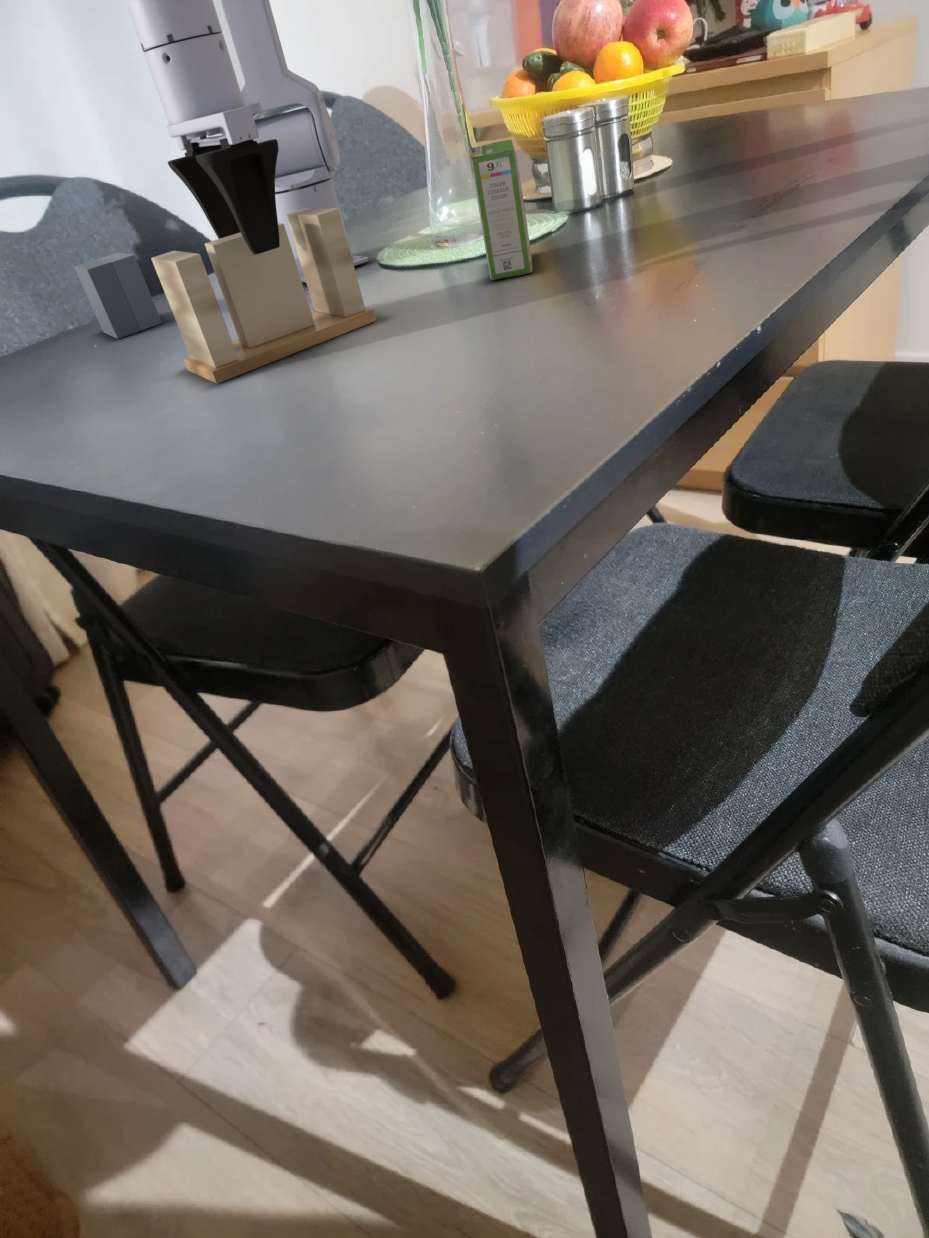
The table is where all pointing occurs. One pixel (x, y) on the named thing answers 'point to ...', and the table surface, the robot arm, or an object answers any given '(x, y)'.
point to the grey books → (118, 294)
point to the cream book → (260, 288)
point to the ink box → (501, 207)
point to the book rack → (333, 316)
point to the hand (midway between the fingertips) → (251, 247)
